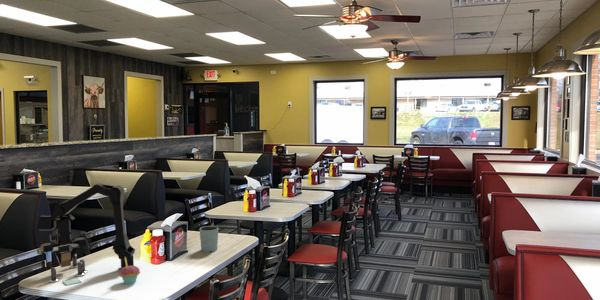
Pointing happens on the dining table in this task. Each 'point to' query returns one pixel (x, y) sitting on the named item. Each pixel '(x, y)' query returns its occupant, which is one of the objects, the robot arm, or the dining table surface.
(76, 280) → the coaster
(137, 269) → the cupcake
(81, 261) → the post course
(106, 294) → the dining table surface
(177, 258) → the dining table surface
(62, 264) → the walnut block
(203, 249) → the grey plant pot
